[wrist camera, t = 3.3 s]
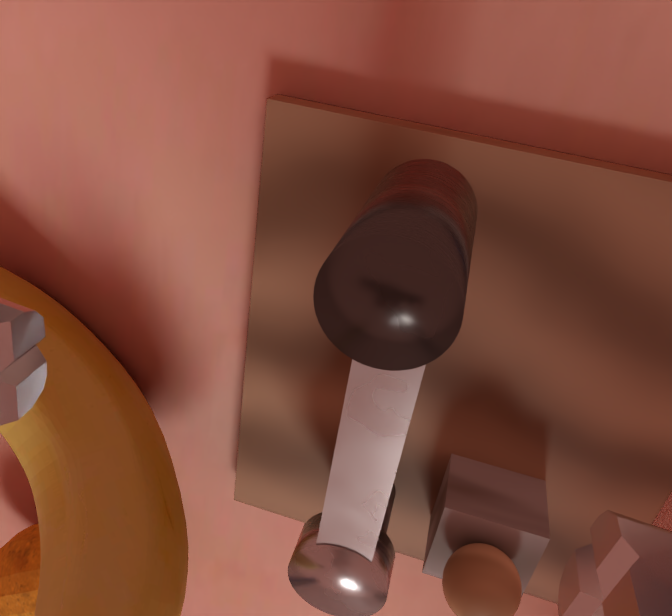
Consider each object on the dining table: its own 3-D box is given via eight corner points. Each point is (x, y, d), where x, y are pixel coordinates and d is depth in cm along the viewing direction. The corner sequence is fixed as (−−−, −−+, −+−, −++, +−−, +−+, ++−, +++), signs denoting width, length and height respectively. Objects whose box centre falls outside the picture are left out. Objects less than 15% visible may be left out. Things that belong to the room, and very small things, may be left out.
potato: (215, 554, 38) (159, 660, 32) (65, 576, 44) (-6, 669, 38) (155, 471, 36) (83, 568, 29) (6, 506, 41) (-79, 593, 35)
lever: (384, 591, 27) (344, 784, 21) (296, 561, 28) (230, 739, 21) (515, 160, 17) (521, 265, 10) (371, 130, 18) (288, 210, 11)
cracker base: (592, 595, 31) (614, 753, 24) (242, 484, 34) (179, 599, 27) (823, 206, 20) (975, 305, 14) (277, 94, 23) (187, 131, 17)
